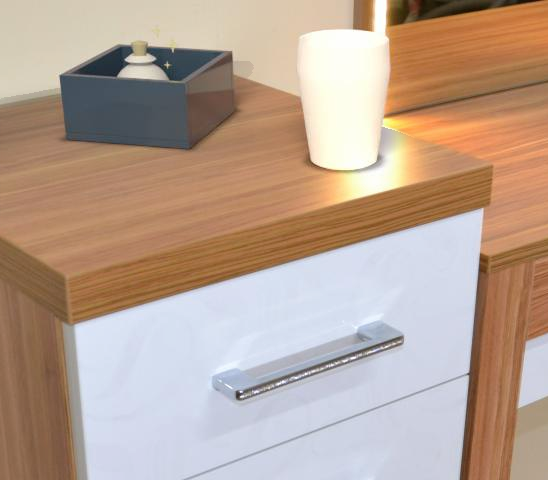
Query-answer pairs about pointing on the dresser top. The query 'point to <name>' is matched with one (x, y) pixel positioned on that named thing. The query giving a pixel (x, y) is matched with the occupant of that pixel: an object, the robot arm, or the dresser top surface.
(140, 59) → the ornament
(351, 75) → the cup
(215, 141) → the dresser top surface
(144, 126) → the dark blue open box
